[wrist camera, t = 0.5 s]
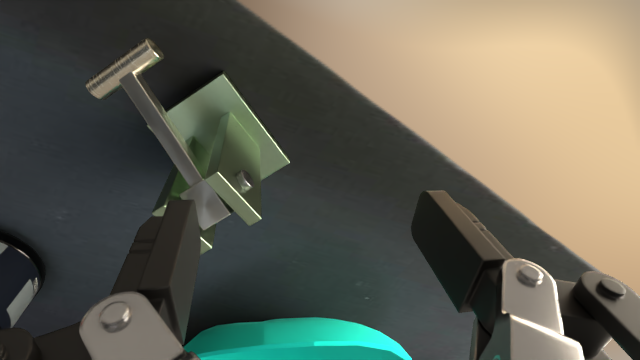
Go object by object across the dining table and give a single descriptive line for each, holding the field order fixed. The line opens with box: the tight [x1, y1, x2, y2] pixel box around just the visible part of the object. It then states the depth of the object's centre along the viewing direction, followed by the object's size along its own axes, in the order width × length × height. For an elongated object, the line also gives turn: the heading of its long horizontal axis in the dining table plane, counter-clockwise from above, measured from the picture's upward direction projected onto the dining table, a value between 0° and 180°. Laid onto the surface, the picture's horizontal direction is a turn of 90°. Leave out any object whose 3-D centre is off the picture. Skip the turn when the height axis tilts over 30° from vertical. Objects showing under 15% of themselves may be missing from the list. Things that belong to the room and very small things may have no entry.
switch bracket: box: [147, 71, 290, 254], centre depth 25 cm, size 10×8×12 cm
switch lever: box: [85, 38, 234, 230], centre depth 21 cm, size 12×5×2 cm, turn 30°
